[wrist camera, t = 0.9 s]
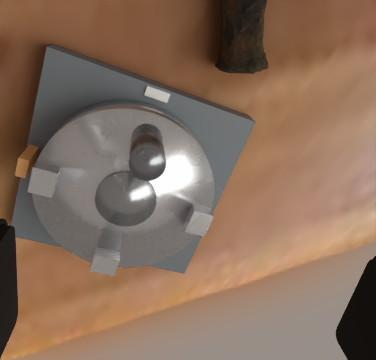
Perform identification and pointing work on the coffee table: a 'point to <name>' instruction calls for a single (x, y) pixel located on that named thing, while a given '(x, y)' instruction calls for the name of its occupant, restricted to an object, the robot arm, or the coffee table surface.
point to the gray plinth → (109, 91)
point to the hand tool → (242, 36)
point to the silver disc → (123, 185)
